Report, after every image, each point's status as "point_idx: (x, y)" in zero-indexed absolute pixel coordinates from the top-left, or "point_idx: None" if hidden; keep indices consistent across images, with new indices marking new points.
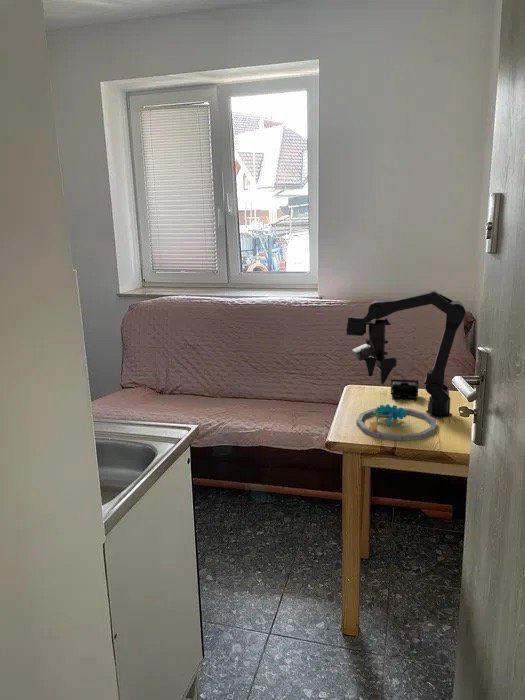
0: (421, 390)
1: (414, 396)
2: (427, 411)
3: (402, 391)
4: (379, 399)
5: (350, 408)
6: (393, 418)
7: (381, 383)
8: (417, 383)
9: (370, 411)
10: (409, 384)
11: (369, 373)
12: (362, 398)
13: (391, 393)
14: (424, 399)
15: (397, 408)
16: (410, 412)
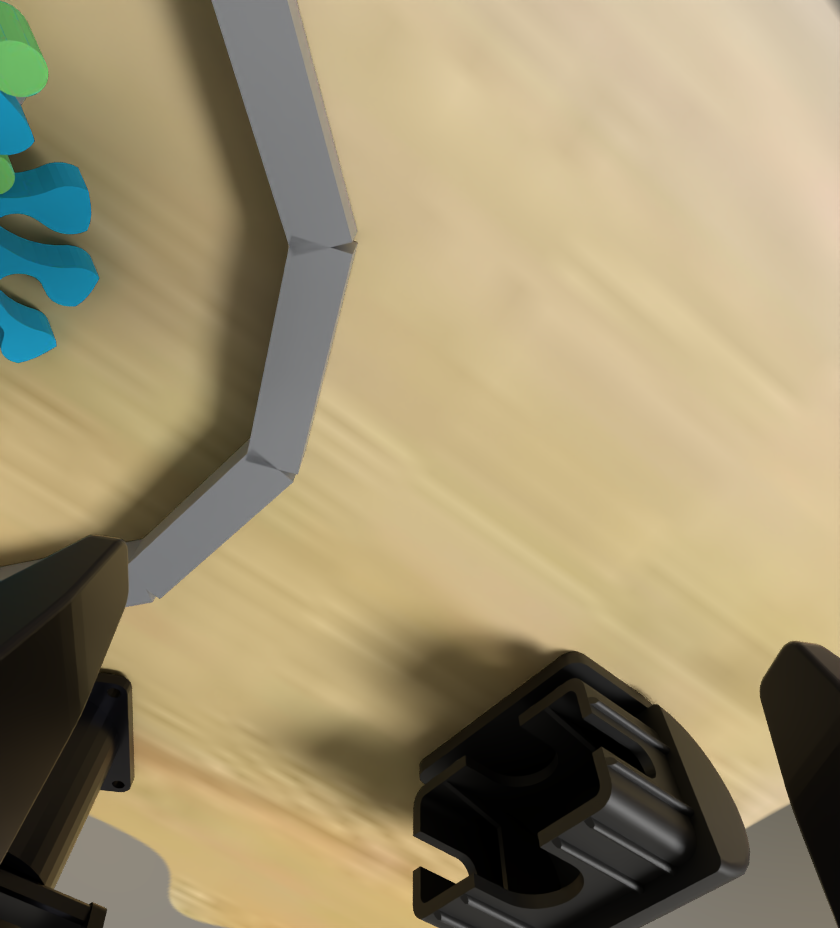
0: None
1: (427, 792)
2: (100, 684)
3: (592, 793)
4: (658, 563)
5: (680, 49)
6: (21, 308)
7: (88, 542)
8: None
9: (268, 137)
10: (483, 897)
11: (833, 710)
12: (824, 441)
13: (656, 714)
14: (405, 815)
15: (218, 506)
16: None
